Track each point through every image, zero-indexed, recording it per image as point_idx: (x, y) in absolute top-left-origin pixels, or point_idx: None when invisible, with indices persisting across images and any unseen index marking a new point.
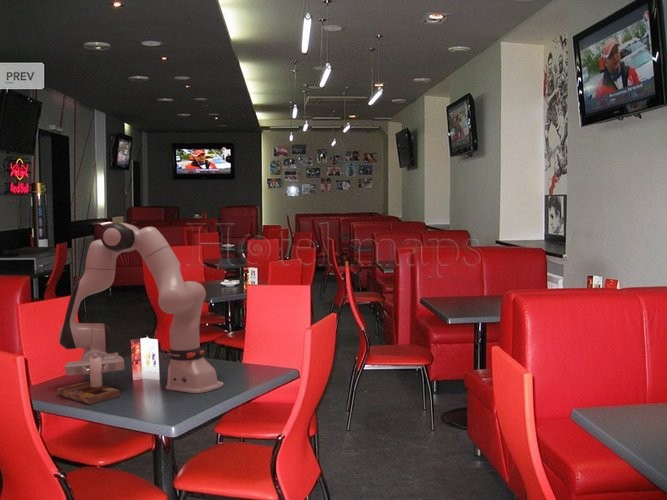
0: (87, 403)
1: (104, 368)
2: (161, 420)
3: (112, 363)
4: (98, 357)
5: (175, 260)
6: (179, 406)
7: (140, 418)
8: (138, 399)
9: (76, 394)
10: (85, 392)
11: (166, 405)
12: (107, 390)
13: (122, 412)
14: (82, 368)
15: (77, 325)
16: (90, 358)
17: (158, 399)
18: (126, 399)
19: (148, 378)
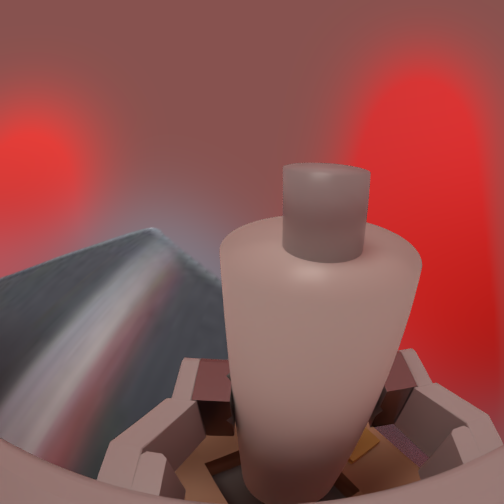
0: None
1: (201, 359)
2: (150, 245)
3: (41, 460)
4: (267, 259)
5: None
6: (67, 285)
7: (178, 260)
8: (96, 391)
9: (412, 464)
10: (364, 491)
11: (79, 301)
12: (208, 483)
13: (202, 300)
14: (475, 415)
15: None
16: (399, 248)
17: (53, 352)
18: (134, 420)
19: None
